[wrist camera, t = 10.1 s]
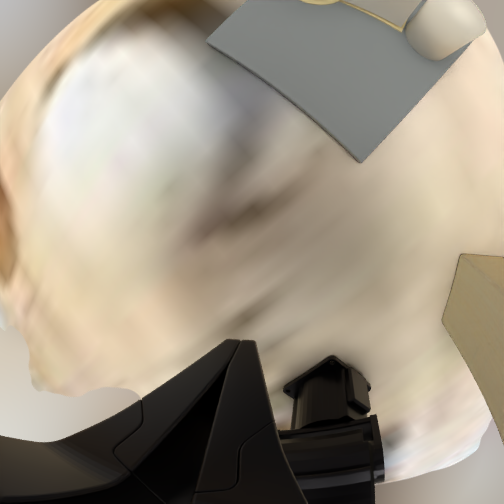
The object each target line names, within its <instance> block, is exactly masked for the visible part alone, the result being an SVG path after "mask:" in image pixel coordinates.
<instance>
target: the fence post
mask: <svg viewBox="0 0 504 504" xmlns="http://www.w3.org/2000/svg"><path fill="white" fill-rule="evenodd" d="M343 1H346V2H349V3H351V4H353V5H356V6H358V7H361V8H363V9H365V10H367V11H369V12H372V13H374V14H376V15H378V16H380V17H382V18H384V19H386V20H388V21H390V22H392V23H394V24H395V25H397V26H399V27H401V26H402V25H403V24H404V23H405V21H406V20H407V19H408V17H409V16H410V15H411V13H412V12H413V11H414V10H415V8H416V7H417V6H418V4H419V3H420V2H421V1H422V0H343Z"/></svg>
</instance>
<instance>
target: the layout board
mask: <svg viewBox="0 0 504 504" xmlns="http://www.w3.org/2000/svg"><path fill="white" fill-rule="evenodd" d="M426 1H427V0H422V1H421V2H420V3H419V4H418V6H417V7H416V8H415V10H414V11H413V12H412V13H411V15H410V16H409V17H408V19H407V20H406V21H405V23H404V24H403V25H402V26H401V27H399V26H397V25H395V24H394V23H392V22H390V21H388V20H386V19H384V18H382V17H380V16H378V15H376V14H374V13H372V12H369V11H367V10H365V9H363V8H361V7H358V6H356V5H353V4H351V3H349V2H346V1H343V0H247V1H246V2H245V3H244V4H243V5H242V6H240V7H239V8H238V9H237V10H236V11H235V12H234V13H233V14H232V15H231V16H230V17H229V18H227V19H226V20H225V21H224V22H223V23H222V24H221V25H220V26H219V27H218V28H217V29H216V30H215V31H214V32H213V33H212V34H211V35H210V37H209V38H208V39H207V40H206V42H207V43H208V45H209V46H211V47H213V48H214V49H216V50H218V51H219V52H221V53H223V54H224V55H226V56H227V57H229V58H231V59H232V60H234V61H235V62H237V63H238V64H240V65H241V66H243V67H244V68H246V69H247V70H249V71H250V72H252V73H253V74H255V75H256V76H258V77H259V78H260V79H262V80H263V81H265V82H266V83H267V84H269V85H270V86H271V87H273V88H274V89H275V90H277V91H278V92H279V93H281V94H282V95H283V96H285V97H286V98H287V99H288V100H290V101H291V102H292V103H293V104H295V105H296V106H297V107H298V108H300V109H301V110H302V111H303V112H304V113H306V114H307V115H308V116H309V117H310V118H312V119H313V120H314V121H315V122H316V123H317V124H318V125H320V126H321V127H322V128H323V129H324V130H325V131H326V132H327V133H329V134H330V135H331V136H332V137H333V138H334V139H335V140H336V141H337V142H338V143H339V144H340V145H342V146H343V147H344V148H345V149H346V150H347V151H348V152H349V153H350V154H351V155H352V156H353V157H354V158H355V159H356V160H357V161H358V162H359V163H362V162H363V161H364V160H365V159H366V158H367V157H368V156H369V155H370V154H371V153H372V152H373V150H374V149H375V148H376V147H377V146H378V145H379V144H380V143H381V142H382V141H383V140H384V139H385V138H386V137H387V136H388V134H389V133H390V132H391V131H392V130H393V129H394V128H395V127H396V126H397V125H398V124H399V123H400V122H401V120H402V119H403V118H404V117H405V116H406V115H407V114H408V113H409V112H410V111H411V110H412V108H413V107H414V106H415V105H416V104H417V103H418V102H419V101H420V100H421V99H422V98H423V96H424V95H425V94H426V93H427V92H428V91H429V90H430V89H431V88H432V87H433V85H434V84H435V83H436V82H437V81H438V80H439V79H440V78H441V77H442V75H443V74H444V73H445V72H446V71H447V70H448V69H449V68H450V66H451V65H452V64H453V63H454V62H455V61H456V60H457V59H458V57H459V56H460V55H461V54H462V53H463V52H464V51H465V49H466V48H467V47H468V46H469V45H470V44H471V43H472V41H471V42H469V43H468V44H466V45H464V46H463V47H461V48H460V49H458V50H456V51H455V52H453V53H452V54H450V55H448V56H447V57H445V58H444V59H442V60H439V61H433V60H429V59H427V58H425V57H423V56H421V55H420V54H419V53H417V52H416V51H415V50H414V49H413V48H412V46H411V45H410V44H409V42H408V40H407V38H406V34H405V29H406V26H407V24H408V23H409V22H410V21H411V19H412V18H413V17H414V16H415V15H416V13H417V12H418V11H419V10H420V8H421V7H422V6H423V5H424V3H425V2H426Z"/></svg>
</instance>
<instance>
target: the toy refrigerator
mask: <svg viewBox="0 0 504 504" xmlns="http://www.w3.org/2000/svg"><path fill="white" fill-rule="evenodd" d="M442 323H443V325H444V326H445V328H446V329H447V331H448V333H449V334H450V336H451V338H452V339H453V341H454V343H455V344H456V346H457V348H458V350H459V351H460V353H461V355H462V357H463V358H464V360H465V362H466V364H467V366H468V367H469V369H470V371H471V373H472V375H473V377H474V379H475V381H476V383H477V385H478V386H479V388H480V390H481V392H482V394H483V396H484V399H485V401H486V403H487V405H488V407H489V410H490V412H491V414H492V417H493V419H494V421H495V423H496V426H497V428H498V431H499V433H500V436H501V439H502V442H503V444H504V257H494V256H482V255H470V254H463V255H461V256H460V258H459V263H458V267H457V271H456V275H455V278H454V282H453V286H452V289H451V293H450V296H449V299H448V302H447V306H446V309H445V312H444V315H443V318H442Z"/></svg>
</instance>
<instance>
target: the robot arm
mask: <svg viewBox="0 0 504 504" xmlns="http://www.w3.org/2000/svg"><path fill="white" fill-rule="evenodd" d="M330 361H334V362H330ZM287 389H289V390H287ZM370 390H371V386H370V384H369V383H368V382H366V379H365V378H364V377H362V376H361V375H360V374H359V373H357V372H356V371H355V370H354V369H353V368H351V367H347V366H346V365H345V364H344V363H342V362H341V361H340V360H339V359H337V358H336V357H334V356H330V357H328V358H327V359H325V360H324V361H322V362H321V363H319V364H318V365H316V366H315V367H313V368H312V369H310V370H309V371H307V372H306V373H304V374H303V375H301V376H300V377H298V378H296V379H295V380H293V381H292V382H290V383H288V384H287V385H285V386H284V388H283V392H284V393H285V394H287V395H288V396H290V397H291V398H293V399H294V404H293V413H292V422H291V430H282V431H280V430H277V427H276V423H275V420H274V416H273V411H272V407H271V403H270V399H269V395H268V391H267V387H266V383H265V379H264V374H263V370H262V366H261V362H260V357H259V353H258V349H257V345H256V342H255V341H254V340H242V341H241V340H239V339H226V340H225V341H223V342H222V343H221V344H219V345H218V346H217V347H215V348H214V349H212V350H211V351H210V352H208V353H207V354H206V355H204V356H203V357H201V358H200V359H199V360H197V361H196V362H194V363H193V364H192V365H190V366H189V367H187V368H186V369H184V370H183V371H182V372H180V373H179V374H177V375H176V376H174V377H173V378H171V379H170V380H169V381H167V382H166V383H164V384H163V385H161V386H160V387H158V388H157V389H155V390H154V391H152V392H151V393H149V394H148V395H146V396H145V397H143V398H142V400H138V401H137V402H135V403H134V404H132V405H131V406H129V407H127V408H126V409H124V410H122V411H121V412H119V413H117V414H115V415H114V416H112V417H110V418H108V419H106V420H104V421H102V422H100V423H98V424H96V425H93V426H91V427H89V428H87V429H85V430H82V431H80V432H78V433H76V434H74V435H71V436H69V437H66V438H64V439H61V440H58V441H54V442H34V441H27V440H20V439H15V438H10V437H5V436H1V435H0V504H375V486H374V484H376V483H380V482H384V478H385V473H384V457H383V448H382V442H381V436H380V430H379V425H378V420H377V415H376V414H374V415H370V417H367V413H368V412H370V409H371V407H370V401H369V395H368V392H369V391H370Z"/></svg>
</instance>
